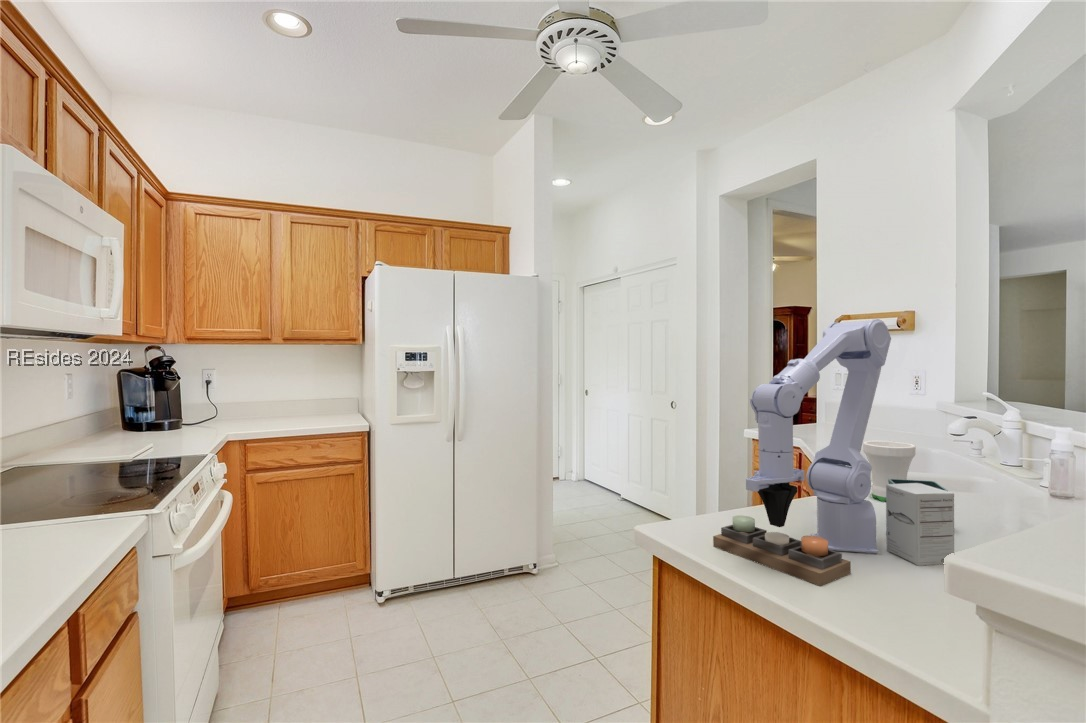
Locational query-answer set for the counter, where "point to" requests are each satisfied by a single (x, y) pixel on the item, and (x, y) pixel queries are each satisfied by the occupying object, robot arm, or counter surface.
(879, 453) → the cup
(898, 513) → the supplement box
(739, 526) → the sage button
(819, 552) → the terracotta button
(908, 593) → the counter surface
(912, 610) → the counter surface
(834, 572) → the button board
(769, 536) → the cream button
